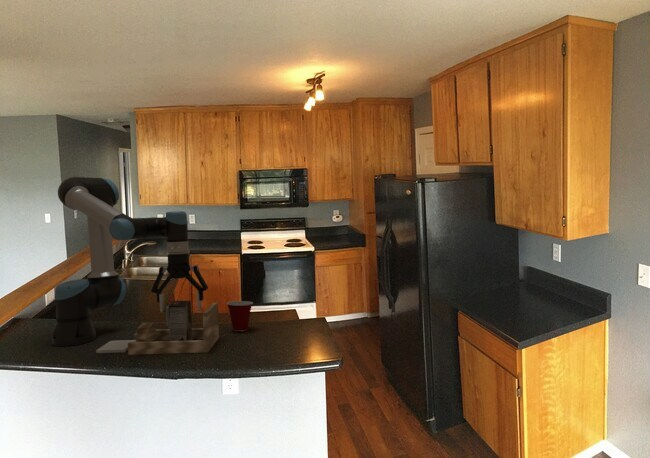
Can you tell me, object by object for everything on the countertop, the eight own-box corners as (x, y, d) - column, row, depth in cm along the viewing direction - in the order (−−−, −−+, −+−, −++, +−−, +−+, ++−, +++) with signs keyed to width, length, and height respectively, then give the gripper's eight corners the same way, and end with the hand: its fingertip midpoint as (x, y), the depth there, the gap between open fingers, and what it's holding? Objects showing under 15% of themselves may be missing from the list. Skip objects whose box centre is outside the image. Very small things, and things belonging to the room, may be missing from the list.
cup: (180, 332, 186) (179, 308, 186) (163, 331, 188) (162, 307, 187) (189, 327, 194) (188, 304, 193) (173, 326, 195) (172, 303, 195)
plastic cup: (259, 328, 189) (258, 300, 189) (244, 335, 179) (243, 305, 179) (237, 326, 194) (237, 298, 193) (222, 332, 184) (221, 303, 183)
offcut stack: (134, 351, 162) (133, 329, 161) (144, 342, 172) (143, 322, 171) (148, 350, 162) (147, 328, 161) (158, 342, 172) (157, 321, 171)
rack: (128, 354, 158) (126, 315, 157) (147, 339, 176) (145, 304, 175) (208, 352, 158) (207, 312, 158) (218, 337, 176) (217, 302, 176)
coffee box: (175, 342, 171) (174, 300, 171) (192, 341, 172) (191, 299, 171) (169, 349, 162) (167, 305, 161) (187, 349, 163) (186, 304, 162)
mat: (96, 353, 160) (96, 350, 160) (111, 343, 172) (111, 340, 172) (124, 352, 160) (124, 349, 160) (137, 342, 172) (137, 339, 172)
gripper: (140, 255, 161) (143, 313, 162) (209, 252, 162) (212, 311, 163) (147, 253, 169) (150, 309, 170) (214, 251, 170) (216, 306, 170)
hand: (180, 310), depth 166 cm, fingers open, 13 cm apart
